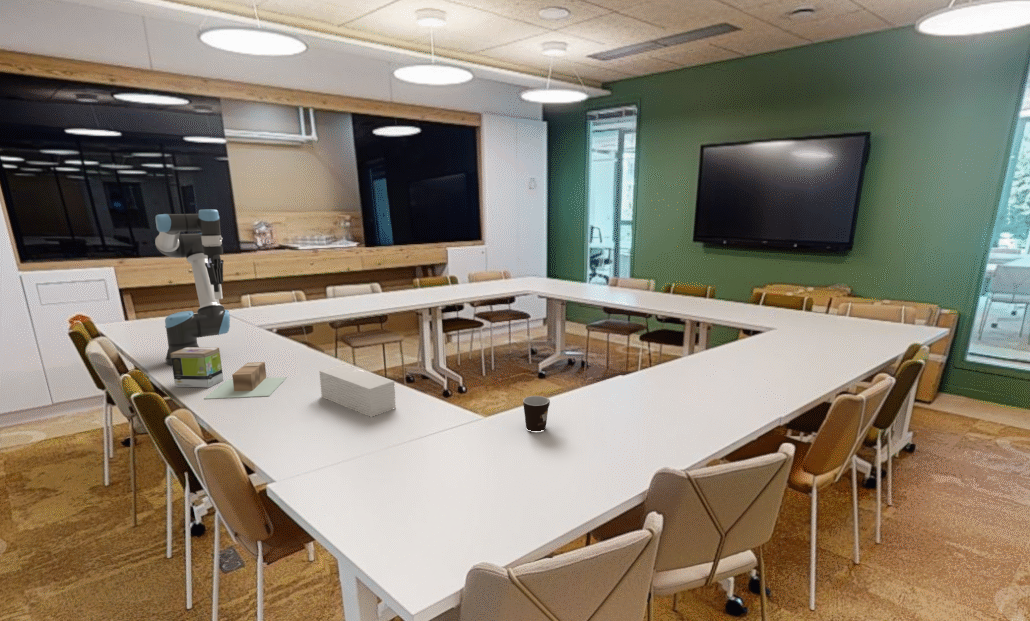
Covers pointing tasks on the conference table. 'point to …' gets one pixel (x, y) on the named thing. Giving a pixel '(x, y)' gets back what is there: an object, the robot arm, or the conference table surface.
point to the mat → (260, 391)
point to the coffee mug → (536, 412)
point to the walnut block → (249, 376)
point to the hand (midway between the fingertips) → (218, 298)
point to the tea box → (197, 367)
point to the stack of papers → (358, 390)
